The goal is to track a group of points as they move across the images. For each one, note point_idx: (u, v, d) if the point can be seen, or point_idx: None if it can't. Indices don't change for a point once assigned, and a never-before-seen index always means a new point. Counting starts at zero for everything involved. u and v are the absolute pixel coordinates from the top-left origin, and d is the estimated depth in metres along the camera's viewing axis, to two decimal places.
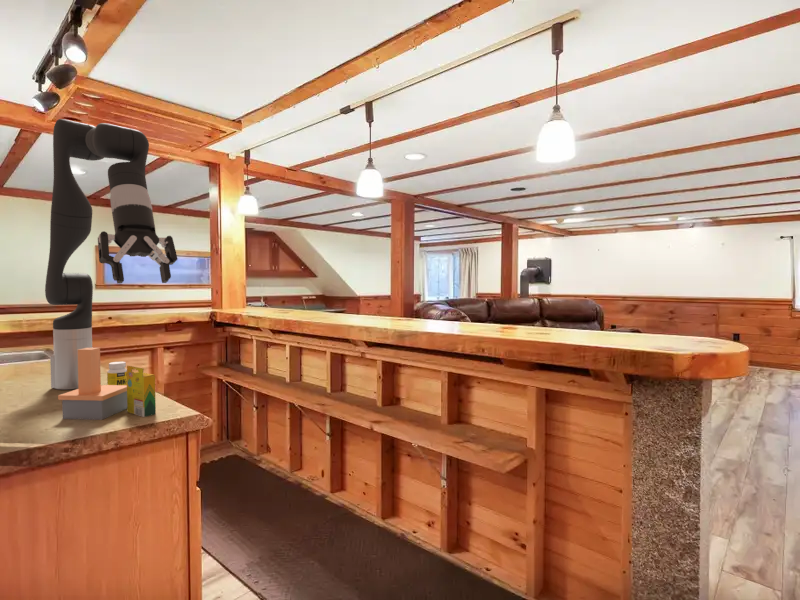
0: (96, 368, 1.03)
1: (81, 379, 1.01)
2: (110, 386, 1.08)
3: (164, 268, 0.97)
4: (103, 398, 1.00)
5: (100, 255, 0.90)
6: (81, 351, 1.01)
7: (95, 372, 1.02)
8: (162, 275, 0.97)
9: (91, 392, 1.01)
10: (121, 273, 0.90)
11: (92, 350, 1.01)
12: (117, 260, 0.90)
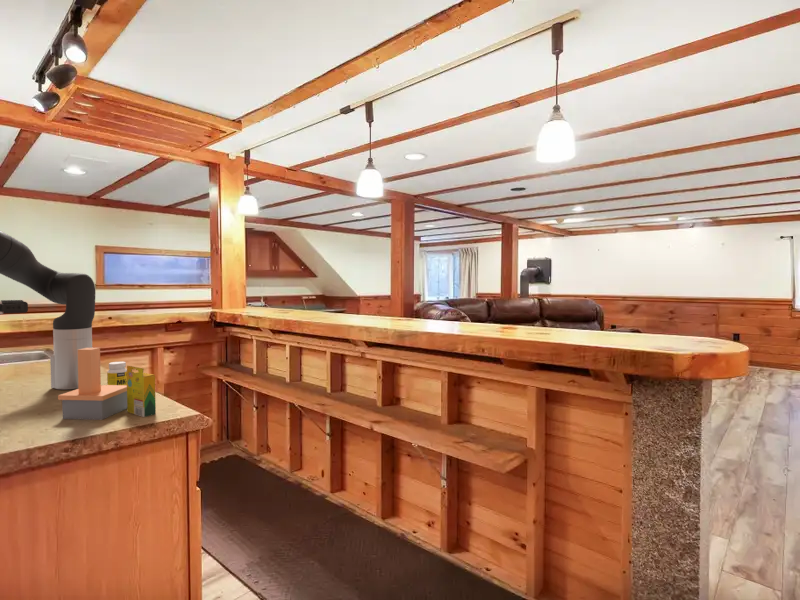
0: (96, 368, 1.03)
1: (81, 379, 1.01)
2: (110, 386, 1.08)
3: None
4: (103, 398, 1.00)
5: None
6: (81, 351, 1.01)
7: (95, 372, 1.02)
8: None
9: (91, 392, 1.01)
10: None
11: (92, 350, 1.01)
12: None
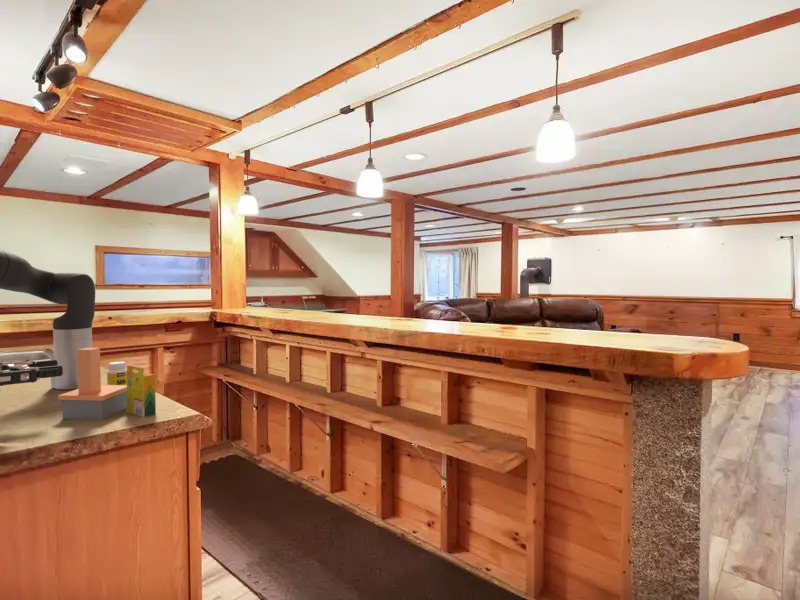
0: (96, 368, 1.03)
1: (81, 379, 1.01)
2: (110, 386, 1.08)
3: None
4: (103, 398, 1.00)
5: None
6: (81, 351, 1.01)
7: (95, 372, 1.02)
8: None
9: (91, 392, 1.01)
10: None
11: (92, 350, 1.01)
12: None
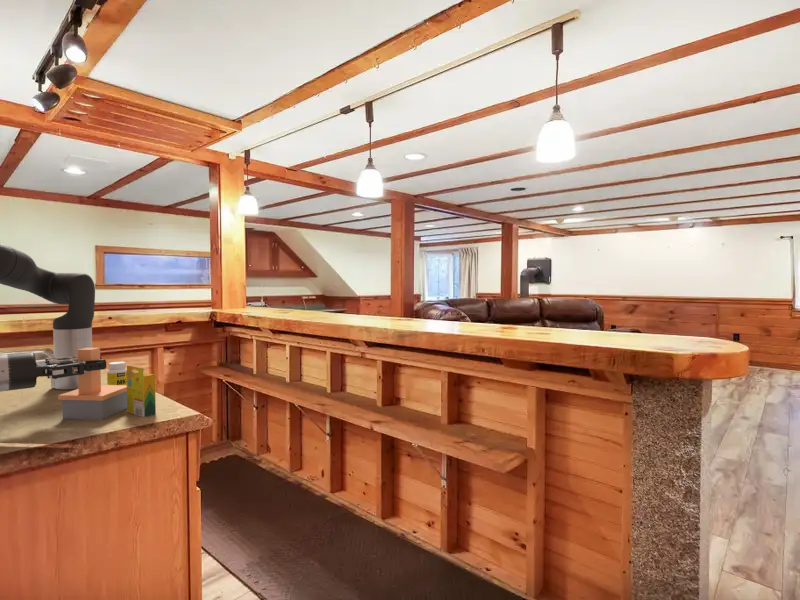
0: None
1: (81, 379, 1.01)
2: (110, 386, 1.08)
3: None
4: (103, 398, 1.00)
5: None
6: (81, 351, 1.01)
7: (95, 372, 1.02)
8: None
9: (91, 392, 1.01)
10: None
11: (92, 350, 1.01)
12: None
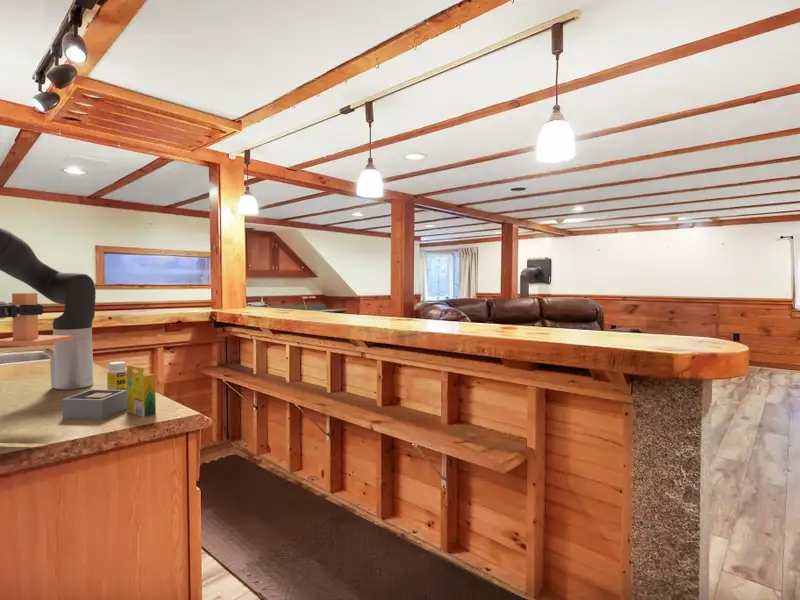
0: None
1: (16, 324, 0.97)
2: (50, 336, 1.04)
3: None
4: (38, 344, 0.96)
5: None
6: (16, 295, 0.97)
7: (30, 317, 0.98)
8: None
9: (26, 338, 0.97)
10: None
11: (27, 294, 0.97)
12: None
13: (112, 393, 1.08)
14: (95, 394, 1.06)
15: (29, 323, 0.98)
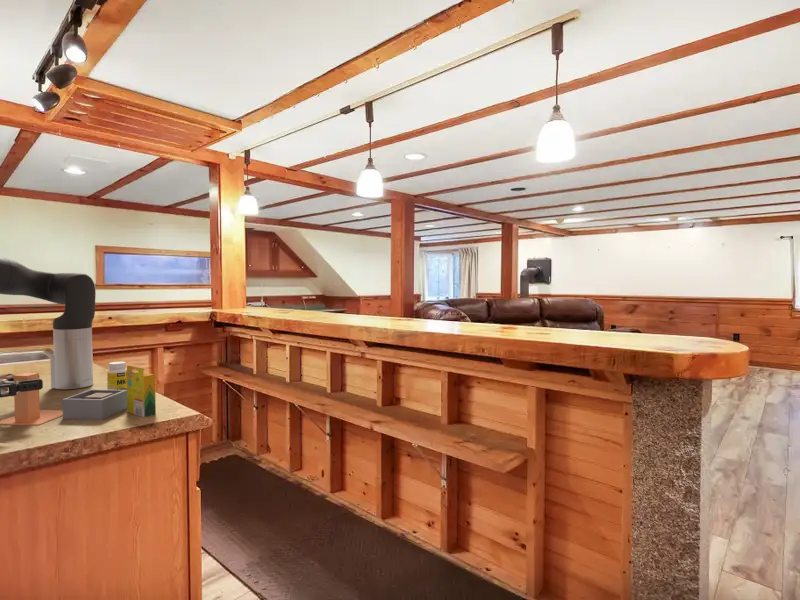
0: (34, 394, 0.99)
1: (17, 406, 0.98)
2: (52, 411, 1.05)
3: None
4: None
5: None
6: (17, 377, 0.97)
7: (32, 398, 0.99)
8: None
9: (28, 419, 0.98)
10: None
11: (29, 376, 0.98)
12: None
13: (112, 393, 1.08)
14: (95, 394, 1.06)
15: (31, 404, 0.98)
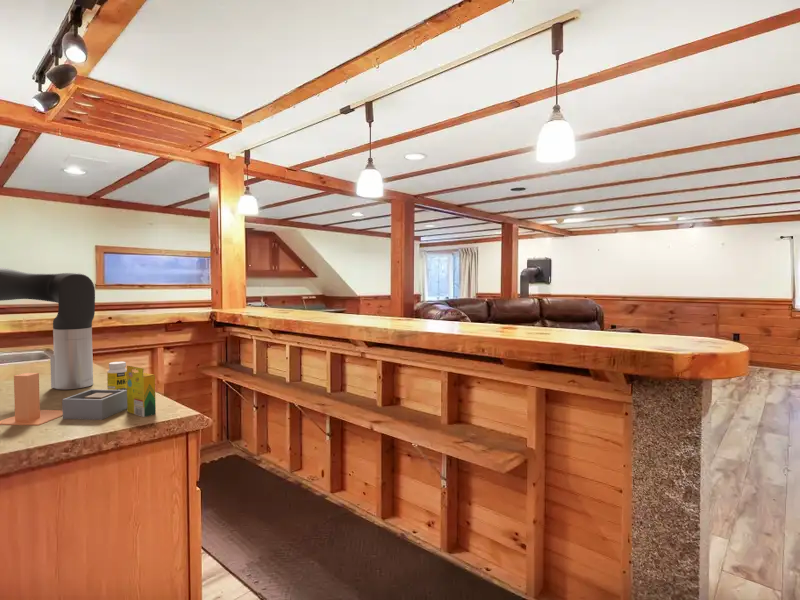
0: (35, 394, 0.99)
1: (18, 406, 0.98)
2: (52, 411, 1.05)
3: None
4: None
5: None
6: (17, 377, 0.97)
7: (32, 398, 0.99)
8: None
9: (28, 419, 0.98)
10: None
11: (29, 376, 0.98)
12: None
13: (112, 393, 1.08)
14: (95, 394, 1.06)
15: (31, 404, 0.98)
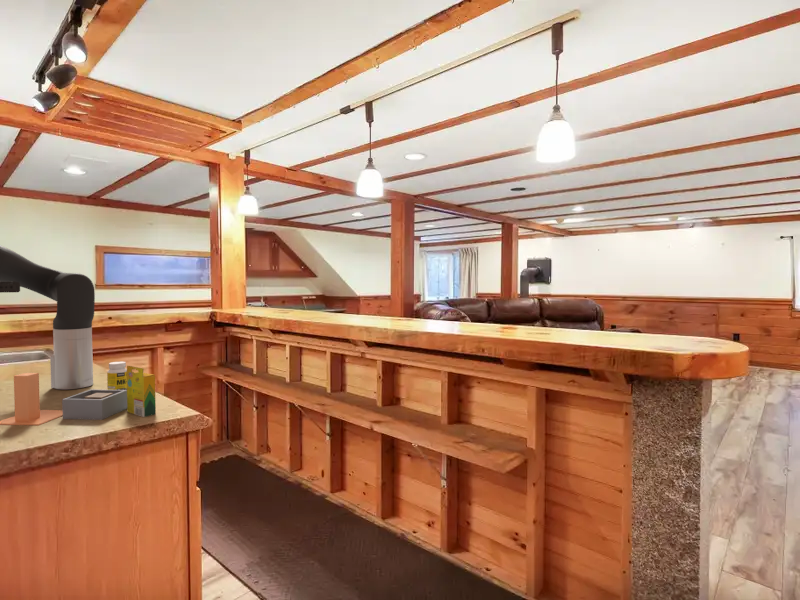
0: (34, 394, 0.99)
1: (17, 406, 0.98)
2: (52, 411, 1.05)
3: None
4: None
5: None
6: (17, 377, 0.97)
7: (32, 398, 0.99)
8: None
9: (28, 419, 0.98)
10: None
11: (29, 376, 0.98)
12: None
13: (112, 393, 1.08)
14: (95, 394, 1.06)
15: (31, 404, 0.98)
